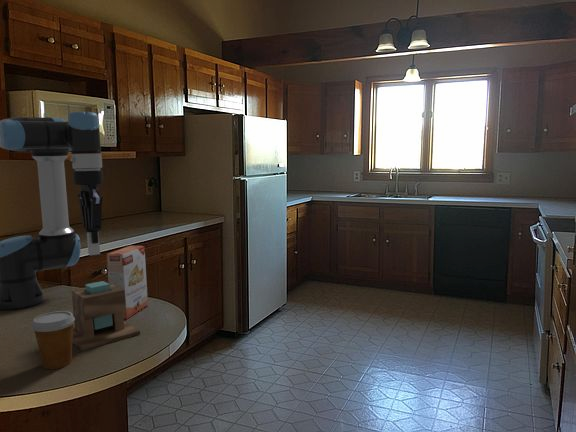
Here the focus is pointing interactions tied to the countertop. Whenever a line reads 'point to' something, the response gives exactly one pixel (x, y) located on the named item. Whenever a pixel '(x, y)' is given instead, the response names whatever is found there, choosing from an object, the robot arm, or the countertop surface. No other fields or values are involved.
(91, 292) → the block
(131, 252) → the cracker box
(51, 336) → the disposable coffee cup
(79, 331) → the chute
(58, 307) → the countertop surface
